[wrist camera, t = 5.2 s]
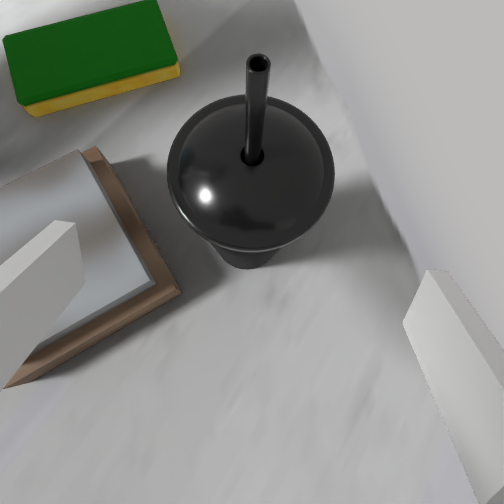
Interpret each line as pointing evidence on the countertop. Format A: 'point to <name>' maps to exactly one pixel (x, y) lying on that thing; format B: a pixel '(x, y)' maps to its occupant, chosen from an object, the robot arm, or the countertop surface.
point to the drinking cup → (250, 172)
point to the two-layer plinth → (86, 253)
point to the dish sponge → (90, 57)
